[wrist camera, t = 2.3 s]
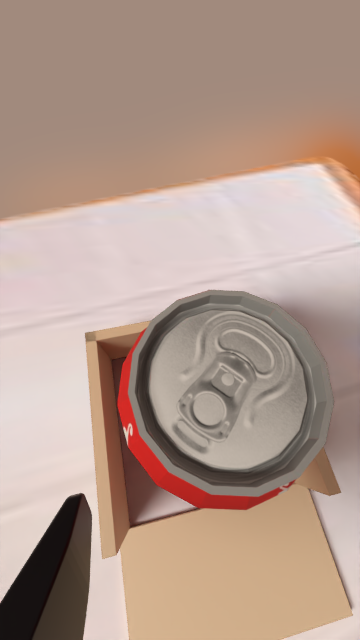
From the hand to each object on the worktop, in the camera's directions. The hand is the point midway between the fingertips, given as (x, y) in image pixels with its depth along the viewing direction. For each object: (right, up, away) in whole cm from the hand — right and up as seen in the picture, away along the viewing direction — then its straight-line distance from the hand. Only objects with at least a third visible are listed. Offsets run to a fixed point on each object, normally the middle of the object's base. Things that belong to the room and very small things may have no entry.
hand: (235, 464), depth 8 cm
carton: (0, -4, +8) cm, 10 cm away
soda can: (-1, -2, +10) cm, 10 cm away
